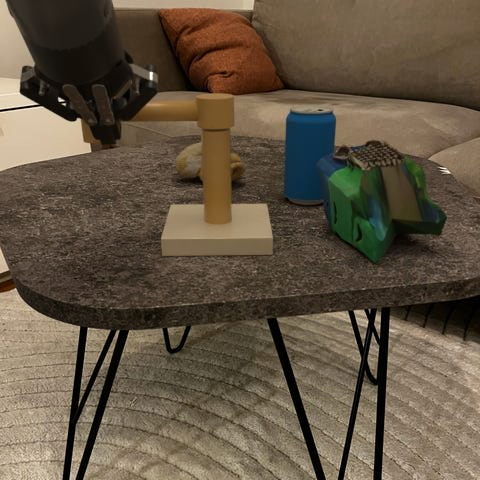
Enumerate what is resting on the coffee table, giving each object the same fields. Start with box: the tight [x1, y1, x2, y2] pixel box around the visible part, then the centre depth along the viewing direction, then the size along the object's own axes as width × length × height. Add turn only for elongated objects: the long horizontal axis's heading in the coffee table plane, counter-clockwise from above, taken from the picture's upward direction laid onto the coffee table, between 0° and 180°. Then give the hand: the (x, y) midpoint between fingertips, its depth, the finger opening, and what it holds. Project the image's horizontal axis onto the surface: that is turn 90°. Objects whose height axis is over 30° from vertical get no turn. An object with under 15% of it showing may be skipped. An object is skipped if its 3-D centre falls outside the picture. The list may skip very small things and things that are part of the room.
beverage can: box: [283, 104, 337, 206], centre depth 79 cm, size 6×6×12 cm
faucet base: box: [160, 128, 274, 257], centre depth 66 cm, size 12×12×12 cm
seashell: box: [174, 141, 247, 183], centre depth 90 cm, size 10×6×15 cm
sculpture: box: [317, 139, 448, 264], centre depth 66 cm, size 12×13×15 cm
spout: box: [80, 92, 235, 144], centre depth 63 cm, size 16×4×4 cm, turn 91°
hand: (109, 137), depth 62 cm, fingers closed
